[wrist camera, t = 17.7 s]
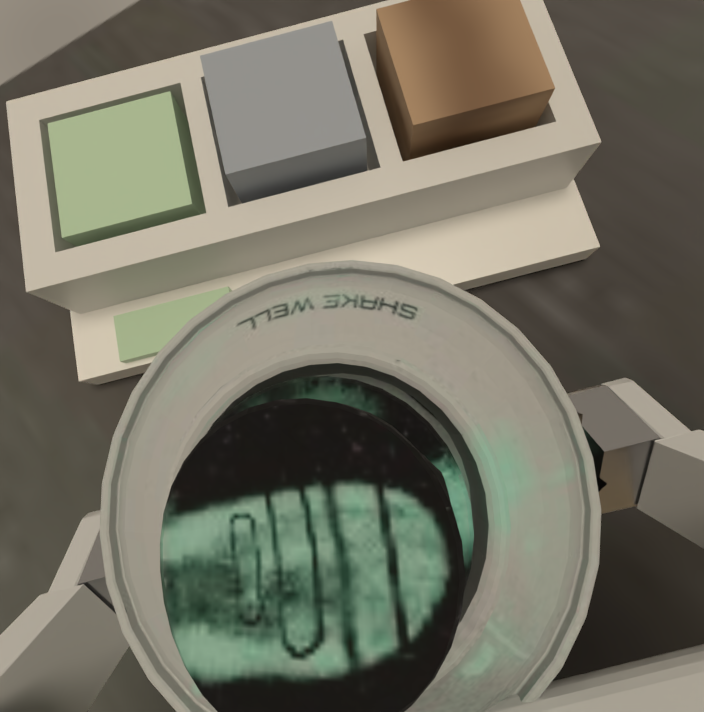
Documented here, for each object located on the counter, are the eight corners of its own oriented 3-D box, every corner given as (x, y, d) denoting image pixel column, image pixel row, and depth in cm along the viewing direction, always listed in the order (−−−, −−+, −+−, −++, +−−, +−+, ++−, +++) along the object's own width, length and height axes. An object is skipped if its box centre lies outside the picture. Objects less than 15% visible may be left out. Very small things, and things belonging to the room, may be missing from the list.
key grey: (338, 84, 22) (332, 20, 19) (367, 186, 21) (366, 137, 18) (227, 114, 22) (199, 55, 19) (249, 217, 21) (225, 174, 18)
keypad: (504, 45, 26) (534, -48, 21) (585, 258, 23) (642, 210, 18) (67, 160, 26) (-5, 95, 21) (97, 384, 23) (22, 370, 18)
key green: (200, 141, 24) (170, 91, 20) (220, 239, 23) (192, 203, 19) (95, 168, 24) (47, 123, 20) (109, 268, 23) (61, 237, 19)
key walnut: (489, 45, 22) (509, -27, 19) (526, 144, 21) (555, 88, 18) (376, 75, 22) (376, 9, 19) (407, 175, 21) (413, 125, 18)
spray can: (448, 452, 22) (1183, 643, 2) (366, 527, 21) (200, 1796, 1) (375, 371, 22) (353, -68, 3) (295, 442, 22) (-384, 504, 2)
